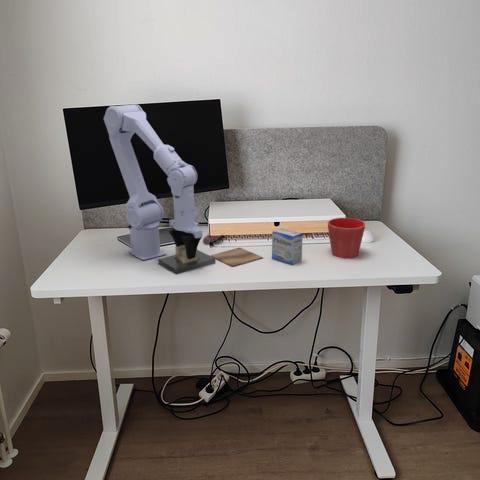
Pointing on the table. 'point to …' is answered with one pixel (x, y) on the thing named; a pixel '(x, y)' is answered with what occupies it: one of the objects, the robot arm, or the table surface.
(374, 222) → the table surface
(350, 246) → the flower pot
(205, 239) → the video game controller
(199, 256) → the holder
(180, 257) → the square plug
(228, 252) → the mat
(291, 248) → the medicine box
